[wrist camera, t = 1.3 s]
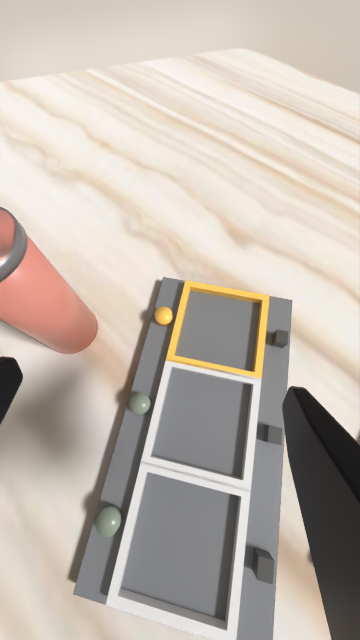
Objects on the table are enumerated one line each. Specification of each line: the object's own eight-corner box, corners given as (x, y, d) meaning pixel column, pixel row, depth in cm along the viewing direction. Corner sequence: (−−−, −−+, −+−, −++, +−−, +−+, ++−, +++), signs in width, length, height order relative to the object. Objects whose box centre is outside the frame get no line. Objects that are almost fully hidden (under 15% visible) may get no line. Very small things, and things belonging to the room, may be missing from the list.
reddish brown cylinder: (58, 365, 24) (-75, 304, 12) (38, 322, 25) (-95, 230, 13) (107, 336, 25) (32, 253, 13) (85, 297, 26) (1, 190, 14)
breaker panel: (266, 645, 16) (278, 677, 14) (78, 585, 18) (64, 606, 15) (288, 304, 25) (297, 294, 23) (164, 282, 27) (162, 270, 25)
